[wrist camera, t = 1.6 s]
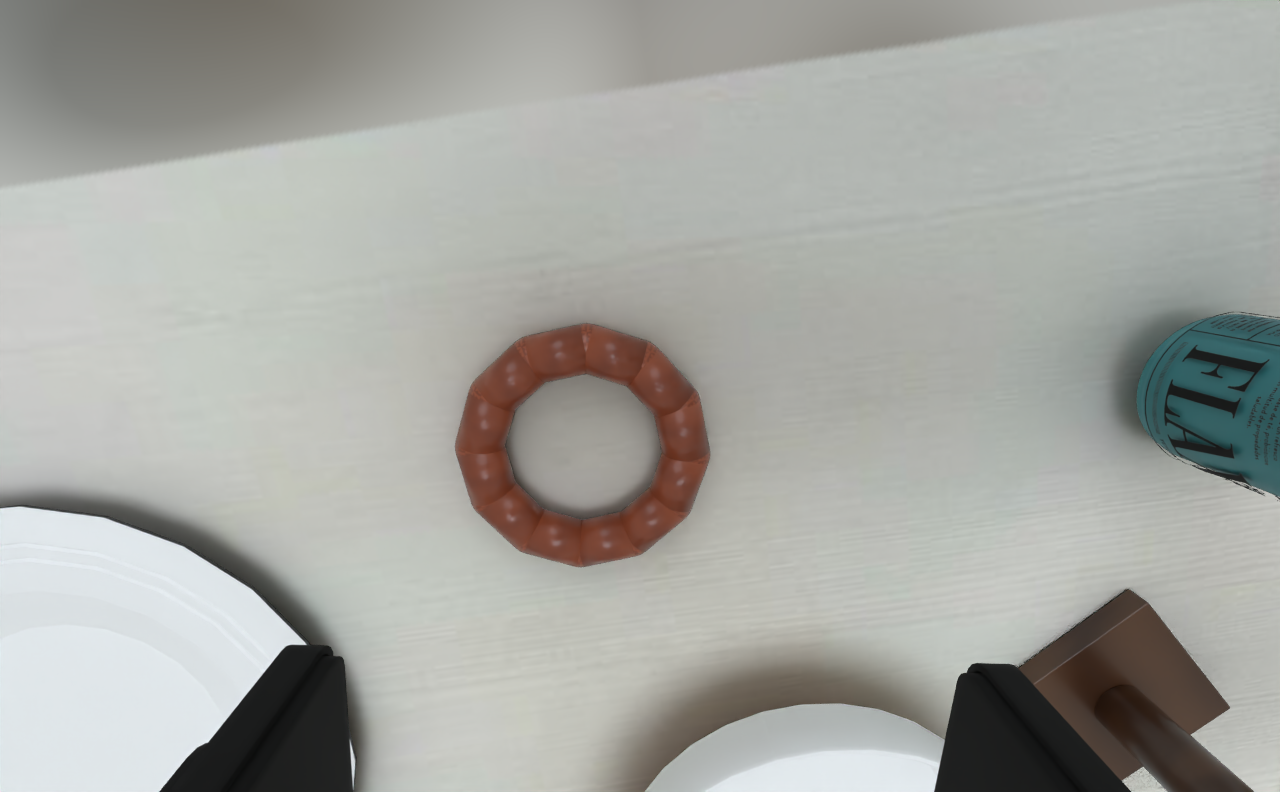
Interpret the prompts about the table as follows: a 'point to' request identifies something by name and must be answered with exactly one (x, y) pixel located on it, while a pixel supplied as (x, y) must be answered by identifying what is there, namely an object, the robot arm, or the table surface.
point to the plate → (118, 652)
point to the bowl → (809, 754)
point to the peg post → (1135, 696)
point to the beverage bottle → (1218, 398)
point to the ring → (566, 358)
